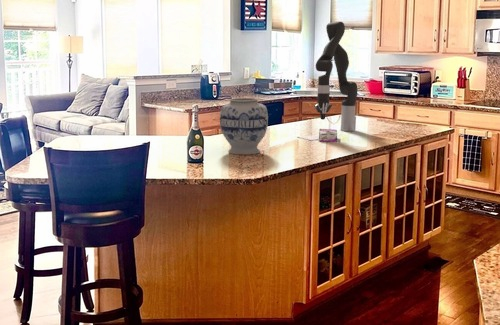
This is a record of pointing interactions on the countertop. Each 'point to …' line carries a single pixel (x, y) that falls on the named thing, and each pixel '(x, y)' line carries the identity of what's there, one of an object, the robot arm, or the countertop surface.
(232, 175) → the countertop surface
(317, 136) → the white mat
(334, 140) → the candy bar box
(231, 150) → the apothecary jar
